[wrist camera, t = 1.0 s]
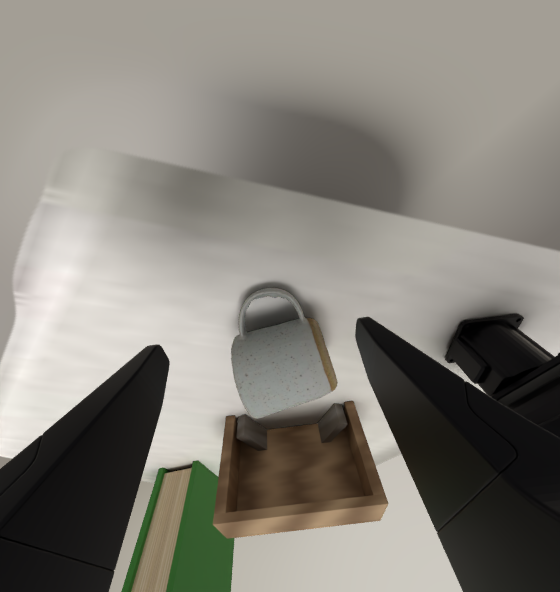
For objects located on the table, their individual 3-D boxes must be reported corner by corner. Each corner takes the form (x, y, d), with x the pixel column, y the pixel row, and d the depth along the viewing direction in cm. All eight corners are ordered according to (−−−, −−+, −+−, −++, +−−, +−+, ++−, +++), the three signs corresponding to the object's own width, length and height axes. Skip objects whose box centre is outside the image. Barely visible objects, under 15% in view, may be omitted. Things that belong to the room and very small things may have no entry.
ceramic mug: (327, 348, 27) (348, 413, 20) (260, 367, 28) (259, 435, 21) (301, 270, 21) (318, 326, 15) (218, 298, 22) (200, 361, 16)
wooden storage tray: (353, 401, 33) (388, 503, 24) (350, 423, 37) (380, 520, 27) (226, 416, 33) (212, 524, 24) (235, 437, 37) (226, 538, 28)
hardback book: (159, 468, 41) (65, 774, 22) (198, 460, 41) (137, 770, 21) (205, 498, 51) (170, 727, 31) (237, 492, 50) (221, 724, 31)
